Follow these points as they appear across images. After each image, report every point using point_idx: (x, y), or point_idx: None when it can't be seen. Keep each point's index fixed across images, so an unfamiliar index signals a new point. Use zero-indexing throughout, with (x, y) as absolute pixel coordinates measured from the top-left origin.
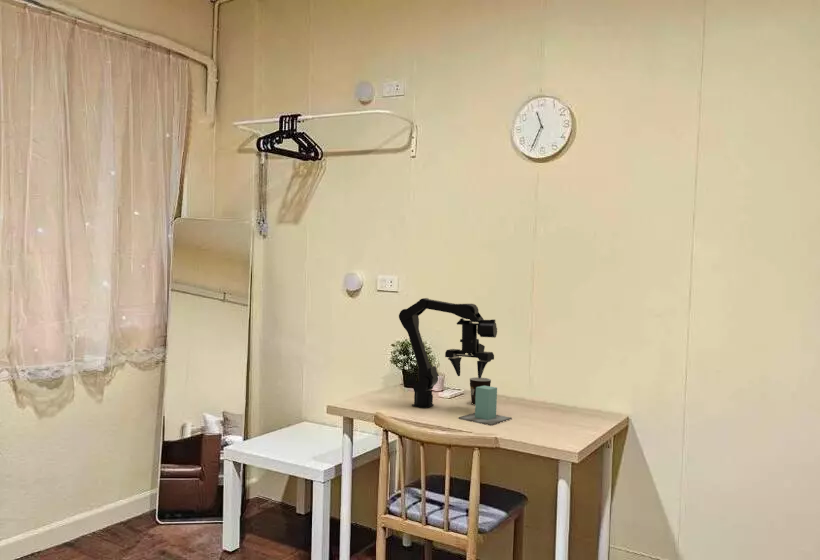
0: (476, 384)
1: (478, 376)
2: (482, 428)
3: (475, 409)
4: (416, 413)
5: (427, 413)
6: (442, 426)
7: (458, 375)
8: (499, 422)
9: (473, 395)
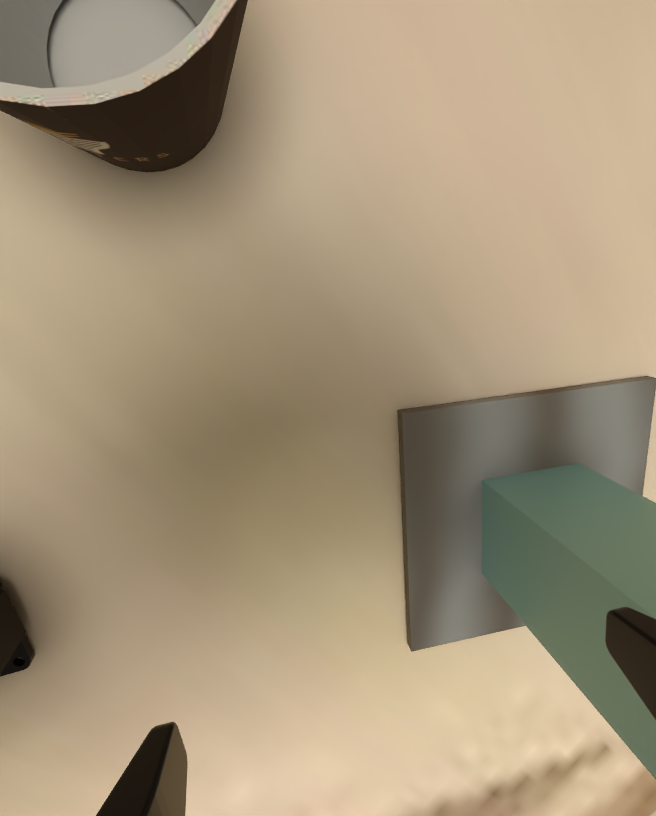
0: (128, 117)
1: (639, 687)
2: None
3: (515, 608)
4: None
5: (179, 720)
6: (454, 800)
7: (185, 777)
8: None
9: (108, 155)
